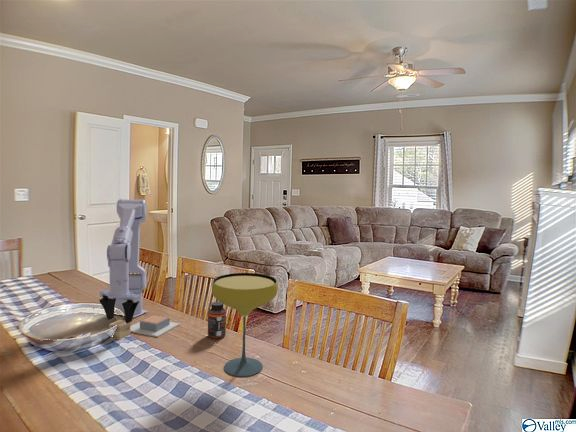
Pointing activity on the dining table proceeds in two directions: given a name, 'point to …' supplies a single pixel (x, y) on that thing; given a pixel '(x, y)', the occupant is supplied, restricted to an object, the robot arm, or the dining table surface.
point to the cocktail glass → (244, 309)
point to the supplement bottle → (216, 321)
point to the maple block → (121, 329)
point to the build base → (155, 334)
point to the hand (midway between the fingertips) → (119, 320)
